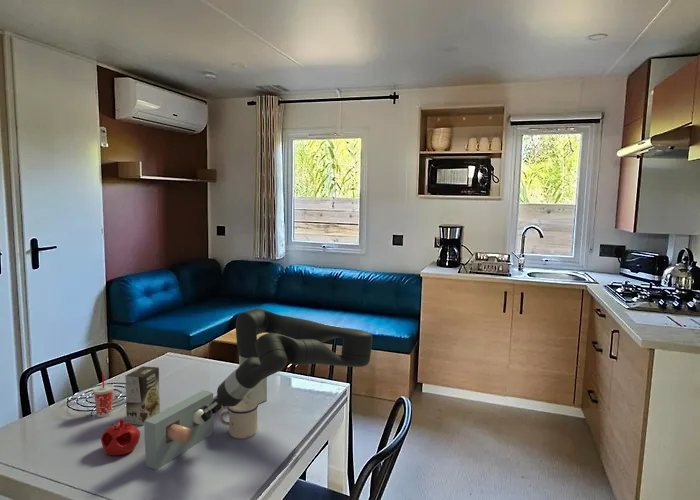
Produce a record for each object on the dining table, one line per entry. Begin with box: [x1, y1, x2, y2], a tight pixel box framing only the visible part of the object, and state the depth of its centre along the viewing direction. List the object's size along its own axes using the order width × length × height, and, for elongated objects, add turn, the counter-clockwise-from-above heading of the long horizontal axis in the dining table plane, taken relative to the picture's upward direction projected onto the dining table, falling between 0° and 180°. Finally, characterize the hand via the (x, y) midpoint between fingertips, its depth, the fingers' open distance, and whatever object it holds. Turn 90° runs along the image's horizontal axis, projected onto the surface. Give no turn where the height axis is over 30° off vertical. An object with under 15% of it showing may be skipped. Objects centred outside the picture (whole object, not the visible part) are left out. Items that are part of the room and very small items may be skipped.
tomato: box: [100, 418, 141, 456], centre depth 130 cm, size 10×10×9 cm
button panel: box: [143, 389, 215, 471], centre depth 131 cm, size 4×22×13 cm, turn 155°
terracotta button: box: [166, 423, 192, 444], centre depth 125 cm, size 7×4×4 cm, turn 65°
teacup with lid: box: [218, 397, 259, 439], centre depth 141 cm, size 12×9×12 cm
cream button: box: [193, 409, 205, 425], centre depth 135 cm, size 7×4×4 cm, turn 65°
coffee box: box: [125, 365, 161, 426], centre depth 148 cm, size 9×6×16 cm
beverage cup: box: [92, 373, 115, 418], centre depth 150 cm, size 6×6×14 cm
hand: (204, 418), depth 133 cm, fingers closed
